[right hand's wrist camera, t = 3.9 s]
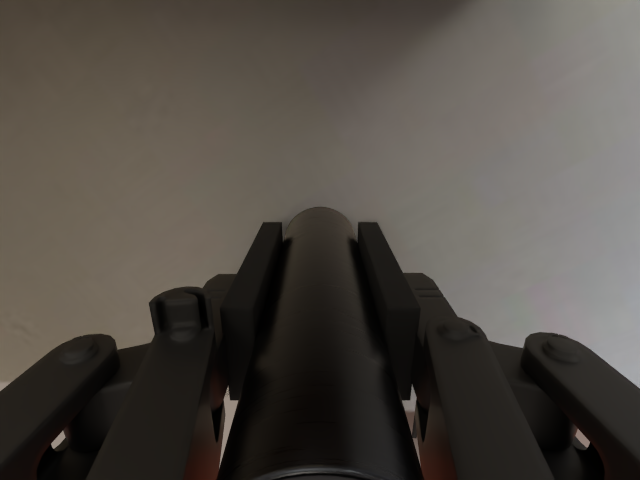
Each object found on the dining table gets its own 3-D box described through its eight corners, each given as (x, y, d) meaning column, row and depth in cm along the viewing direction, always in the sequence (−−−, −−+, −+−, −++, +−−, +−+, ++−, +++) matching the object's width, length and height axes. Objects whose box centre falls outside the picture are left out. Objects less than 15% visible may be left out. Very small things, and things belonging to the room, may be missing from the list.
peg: (283, 206, 15) (184, 470, 4) (356, 206, 15) (456, 471, 4) (286, 271, 16) (213, 621, 5) (353, 271, 16) (427, 621, 5)
